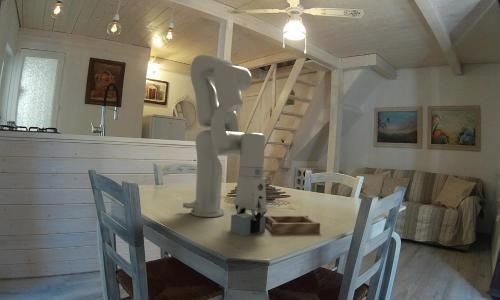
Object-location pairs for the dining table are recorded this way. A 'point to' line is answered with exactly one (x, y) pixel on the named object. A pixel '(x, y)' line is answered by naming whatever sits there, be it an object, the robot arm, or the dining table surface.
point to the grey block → (245, 224)
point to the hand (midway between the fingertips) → (248, 229)
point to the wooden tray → (291, 224)
